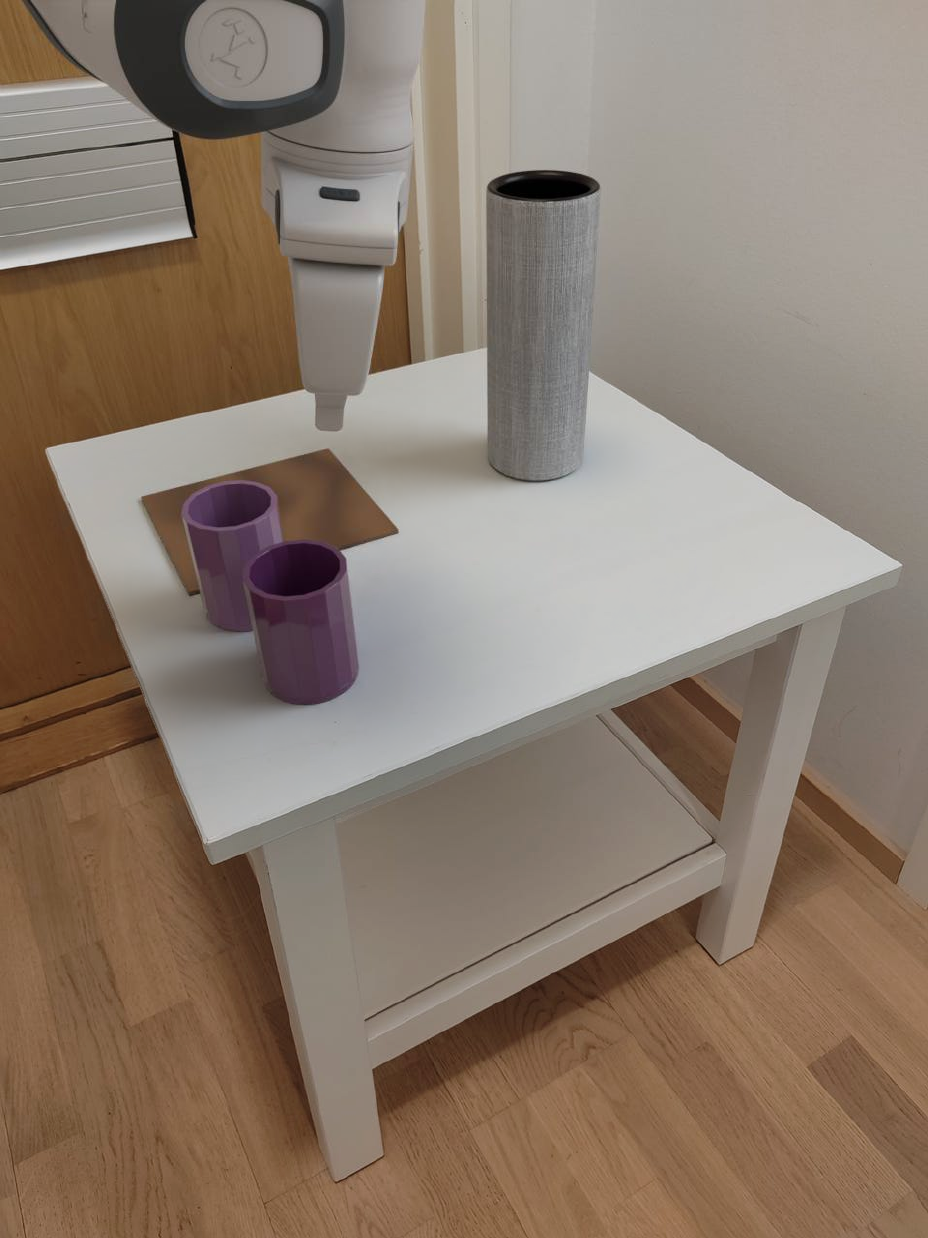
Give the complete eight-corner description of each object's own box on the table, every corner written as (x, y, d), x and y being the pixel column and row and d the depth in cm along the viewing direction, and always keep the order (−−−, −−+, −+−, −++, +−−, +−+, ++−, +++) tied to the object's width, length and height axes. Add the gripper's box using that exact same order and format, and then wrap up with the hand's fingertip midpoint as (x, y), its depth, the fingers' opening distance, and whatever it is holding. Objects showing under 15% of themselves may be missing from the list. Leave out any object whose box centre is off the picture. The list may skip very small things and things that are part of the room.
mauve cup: (190, 624, 80) (164, 523, 73) (230, 573, 85) (208, 475, 79) (271, 637, 78) (252, 536, 72) (306, 585, 84) (291, 486, 77)
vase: (547, 427, 105) (557, 163, 89) (602, 465, 99) (624, 187, 82) (470, 451, 102) (465, 180, 85) (521, 492, 95) (527, 207, 78)
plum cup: (248, 695, 73) (224, 591, 66) (287, 635, 78) (269, 533, 72) (338, 712, 71) (323, 607, 65) (372, 649, 77) (361, 546, 70)
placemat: (189, 595, 83) (188, 592, 82) (141, 499, 95) (140, 496, 95) (398, 532, 90) (398, 529, 89) (328, 451, 102) (328, 447, 102)
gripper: (285, 130, 65) (283, 324, 73) (279, 237, 49) (278, 467, 58) (378, 139, 66) (365, 330, 75) (401, 247, 50) (381, 471, 59)
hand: (327, 391), depth 66 cm, fingers open, 8 cm apart
